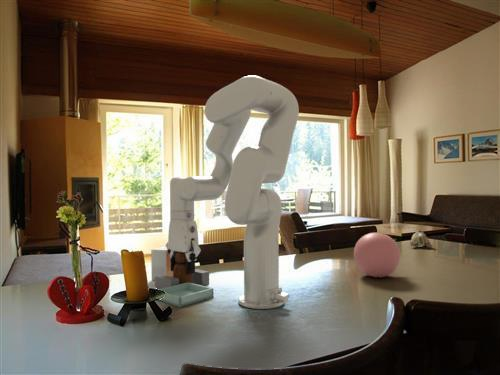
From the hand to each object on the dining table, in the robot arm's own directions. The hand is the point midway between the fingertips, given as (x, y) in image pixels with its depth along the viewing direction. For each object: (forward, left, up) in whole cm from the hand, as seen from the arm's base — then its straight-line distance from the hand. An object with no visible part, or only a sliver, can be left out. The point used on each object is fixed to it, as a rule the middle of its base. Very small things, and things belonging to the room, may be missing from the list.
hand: (182, 271), depth 127 cm
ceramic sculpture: (-32, -127, -5) cm, 131 cm away
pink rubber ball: (-42, -54, -5) cm, 69 cm away
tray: (-10, +8, -5) cm, 14 cm away
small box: (+14, -3, -5) cm, 15 cm away
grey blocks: (0, 0, -5) cm, 5 cm away
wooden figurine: (0, 0, -5) cm, 5 cm away
